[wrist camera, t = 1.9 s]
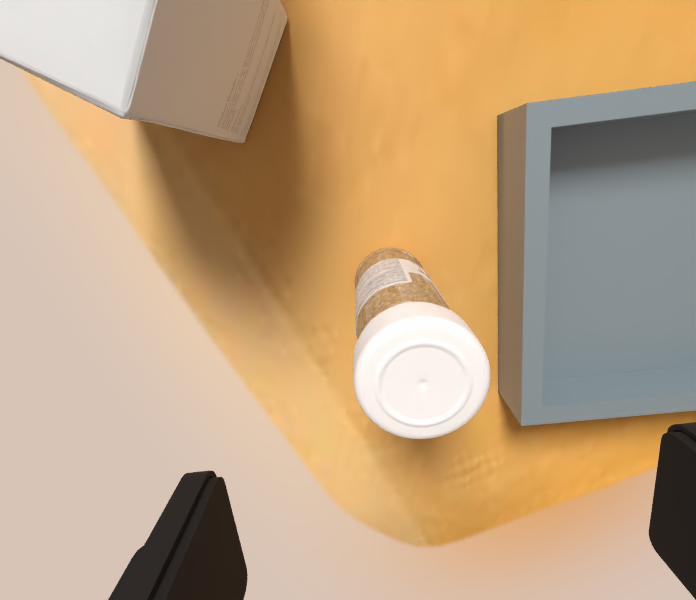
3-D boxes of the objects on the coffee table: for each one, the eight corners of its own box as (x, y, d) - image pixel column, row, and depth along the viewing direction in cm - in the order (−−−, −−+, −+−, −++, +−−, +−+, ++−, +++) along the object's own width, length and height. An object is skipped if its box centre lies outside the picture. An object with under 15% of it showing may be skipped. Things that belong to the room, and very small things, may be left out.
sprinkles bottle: (434, 296, 26) (513, 416, 13) (370, 323, 26) (386, 463, 14) (407, 233, 25) (466, 296, 12) (341, 263, 25) (329, 354, 12)
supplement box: (160, -53, 20) (-118, -384, 8) (292, 17, 21) (212, -190, 9) (122, 90, 22) (-146, -9, 10) (244, 150, 23) (126, 122, 11)
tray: (828, 73, 22) (930, 51, 18) (764, 366, 27) (831, 398, 23) (497, 115, 22) (526, 103, 19) (498, 391, 28) (521, 426, 24)
